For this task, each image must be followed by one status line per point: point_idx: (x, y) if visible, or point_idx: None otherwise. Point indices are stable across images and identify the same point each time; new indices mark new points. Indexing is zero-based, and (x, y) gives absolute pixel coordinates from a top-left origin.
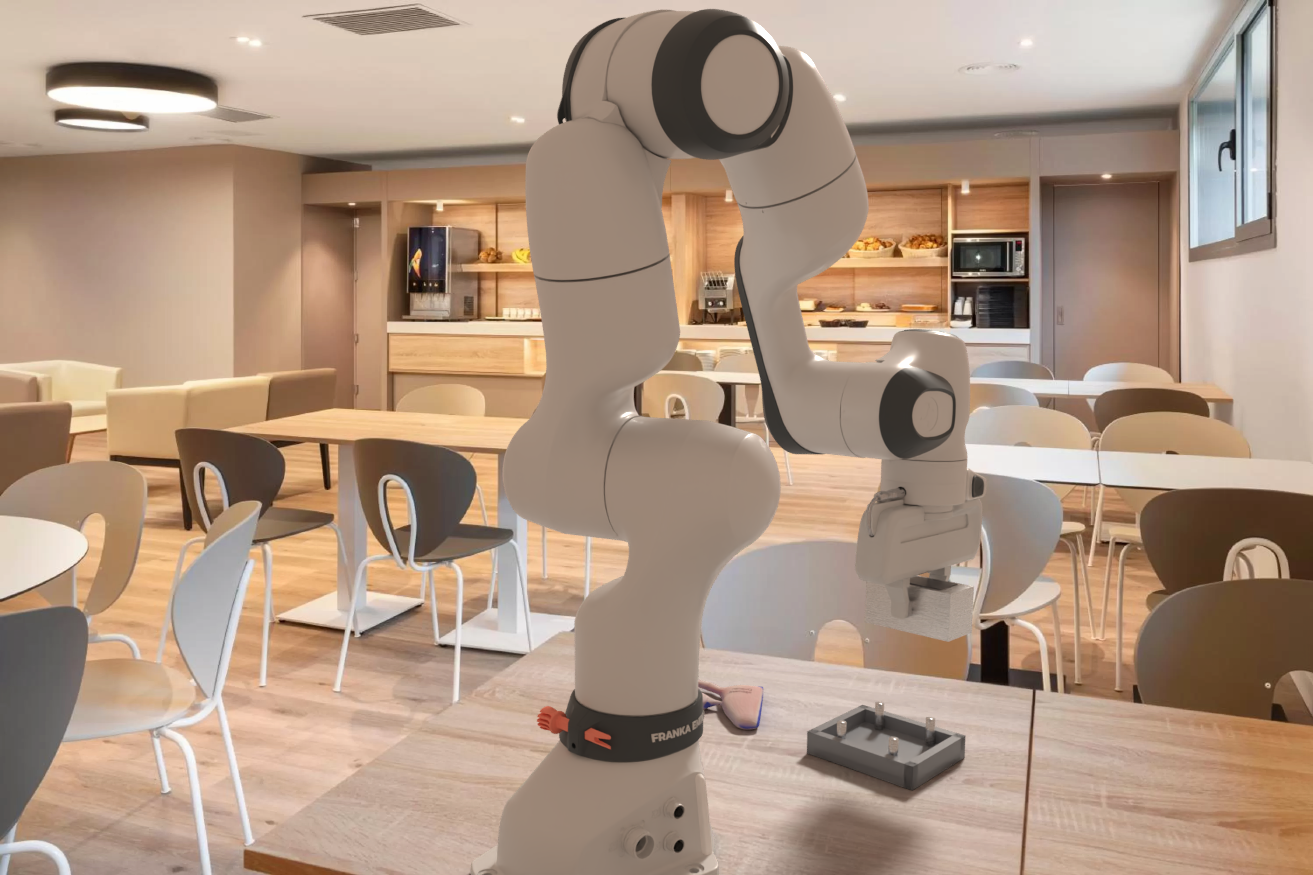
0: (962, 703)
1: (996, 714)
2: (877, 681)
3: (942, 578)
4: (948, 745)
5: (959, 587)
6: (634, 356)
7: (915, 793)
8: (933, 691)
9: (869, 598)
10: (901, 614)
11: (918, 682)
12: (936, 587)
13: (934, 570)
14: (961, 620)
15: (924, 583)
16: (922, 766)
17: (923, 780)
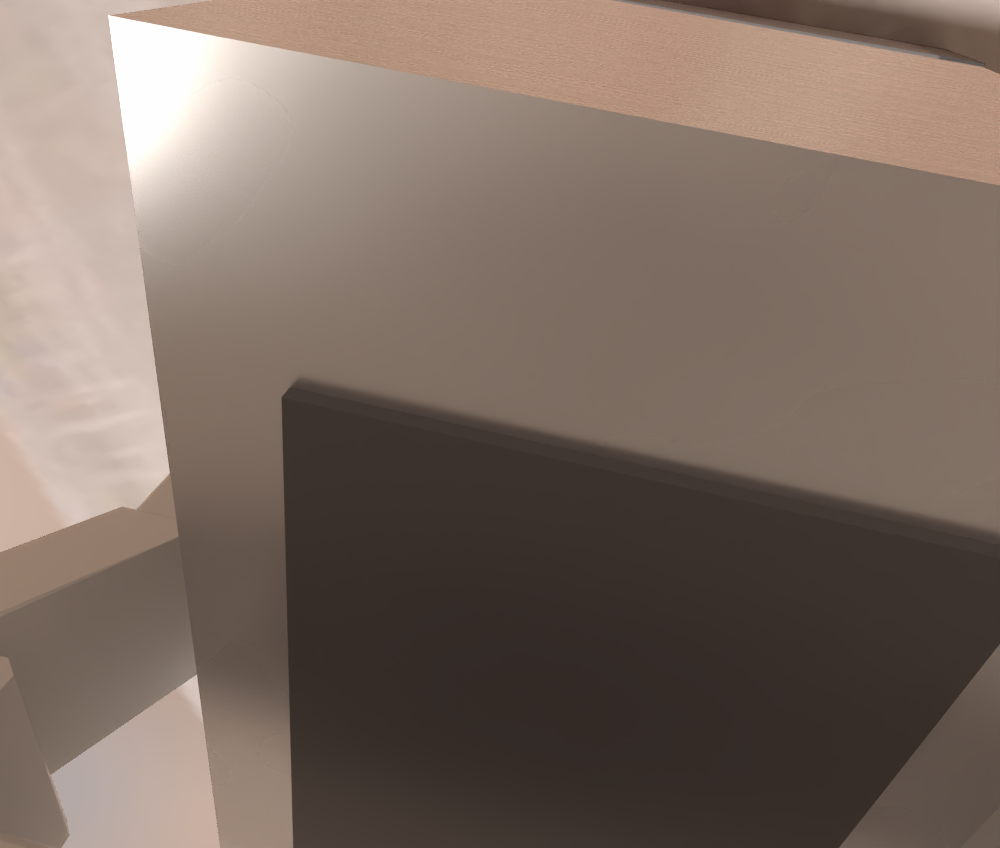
0: (41, 176)
1: (23, 18)
2: (111, 464)
3: (23, 643)
4: (661, 8)
5: (511, 288)
6: None
7: (969, 27)
8: (34, 299)
9: None
10: None
11: (11, 363)
12: (916, 651)
13: (17, 816)
14: (694, 35)
15: (683, 806)
16: (890, 45)
17: (860, 35)
